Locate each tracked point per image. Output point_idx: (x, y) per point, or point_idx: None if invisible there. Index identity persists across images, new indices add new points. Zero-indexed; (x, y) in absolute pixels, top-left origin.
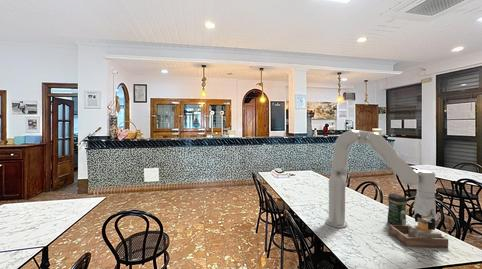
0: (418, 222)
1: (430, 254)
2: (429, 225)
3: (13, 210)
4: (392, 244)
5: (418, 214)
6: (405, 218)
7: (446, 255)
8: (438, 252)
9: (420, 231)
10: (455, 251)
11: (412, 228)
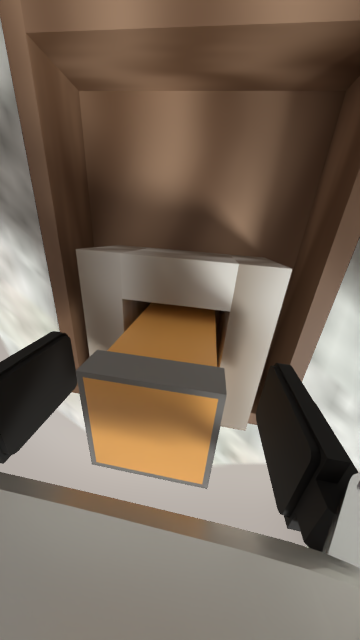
0: (205, 352)
1: (5, 203)
2: (17, 363)
3: None
4: None
5: (310, 508)
6: None
7: (22, 291)
8: (44, 274)
9: (111, 269)
10: None
11: (215, 260)
